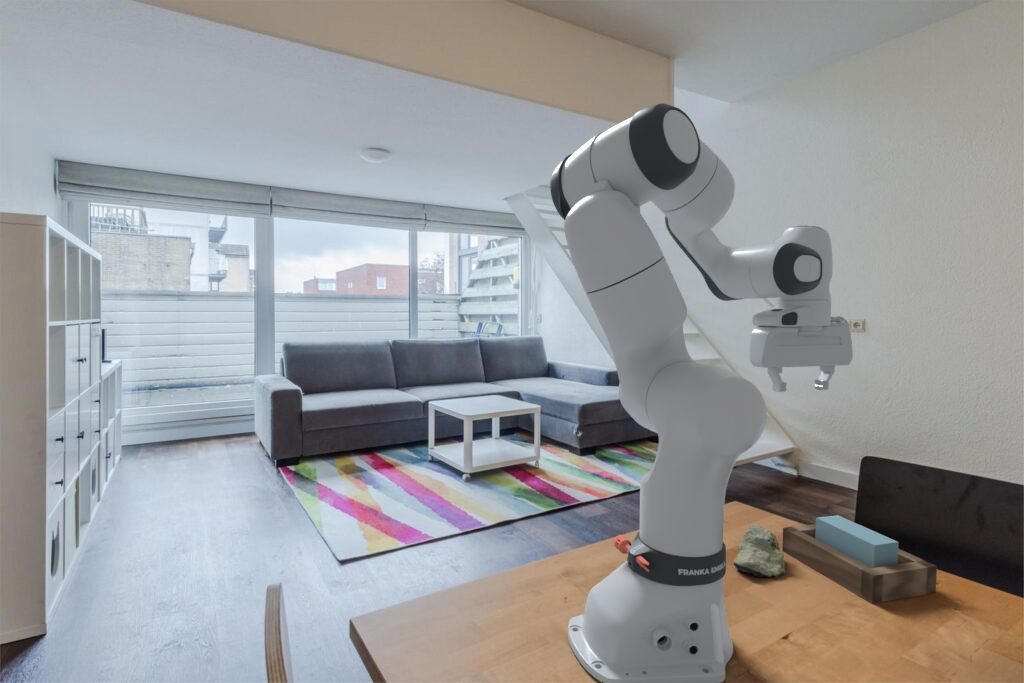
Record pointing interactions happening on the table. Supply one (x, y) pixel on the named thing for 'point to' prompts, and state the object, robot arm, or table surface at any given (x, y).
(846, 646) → the table surface
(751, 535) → the rock
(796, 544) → the frame
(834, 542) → the light blue rectangular block
